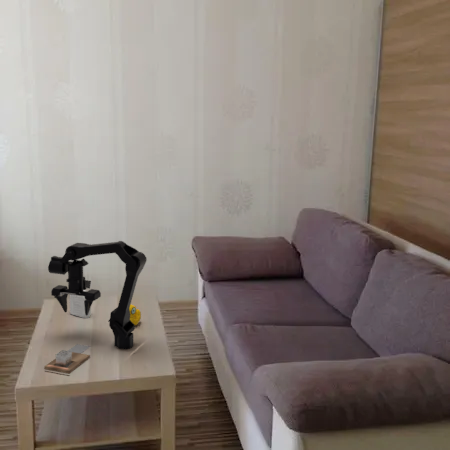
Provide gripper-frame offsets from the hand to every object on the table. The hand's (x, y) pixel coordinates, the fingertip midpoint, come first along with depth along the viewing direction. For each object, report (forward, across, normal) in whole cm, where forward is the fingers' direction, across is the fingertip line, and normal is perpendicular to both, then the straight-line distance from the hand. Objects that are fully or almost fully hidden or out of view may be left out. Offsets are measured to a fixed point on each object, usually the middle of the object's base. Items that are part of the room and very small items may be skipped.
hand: (76, 313), depth 227 cm
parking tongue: (+12, -5, +8) cm, 15 cm away
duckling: (+12, -13, -23) cm, 29 cm away
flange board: (+12, -8, +20) cm, 24 cm away
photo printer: (+12, +13, -27) cm, 33 cm away
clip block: (+12, -7, +22) cm, 26 cm away
